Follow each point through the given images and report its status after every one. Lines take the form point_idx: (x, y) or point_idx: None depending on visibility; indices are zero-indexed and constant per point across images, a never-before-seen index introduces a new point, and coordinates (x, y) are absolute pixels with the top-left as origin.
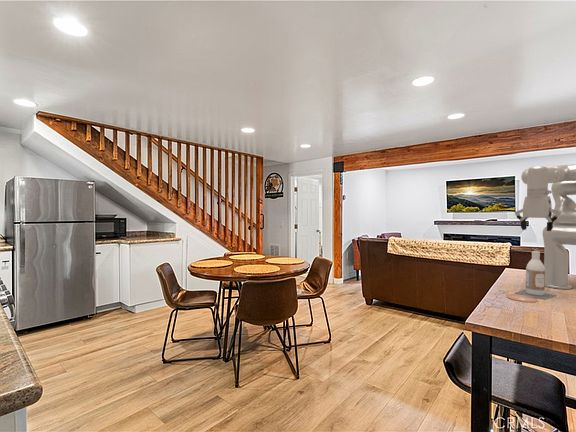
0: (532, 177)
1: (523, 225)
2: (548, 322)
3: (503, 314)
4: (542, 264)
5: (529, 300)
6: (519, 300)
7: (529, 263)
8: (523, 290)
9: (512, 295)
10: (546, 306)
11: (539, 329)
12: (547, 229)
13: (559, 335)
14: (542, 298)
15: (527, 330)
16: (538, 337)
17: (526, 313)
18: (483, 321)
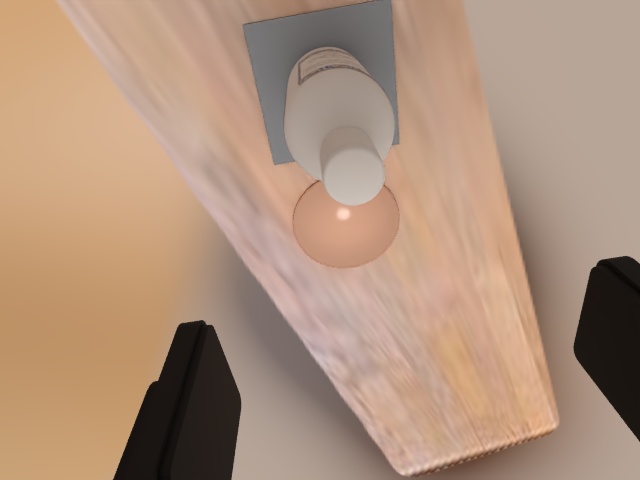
0: None
1: (229, 472)
2: (499, 366)
3: (410, 399)
4: (389, 135)
5: (384, 240)
6: (362, 264)
7: (320, 179)
8: (255, 64)
9: (311, 230)
10: (442, 239)
11: (501, 413)
12: (596, 373)
13: (537, 410)
14: None
15: (487, 432)
16: (513, 443)
17: (438, 351)
18: (412, 456)
